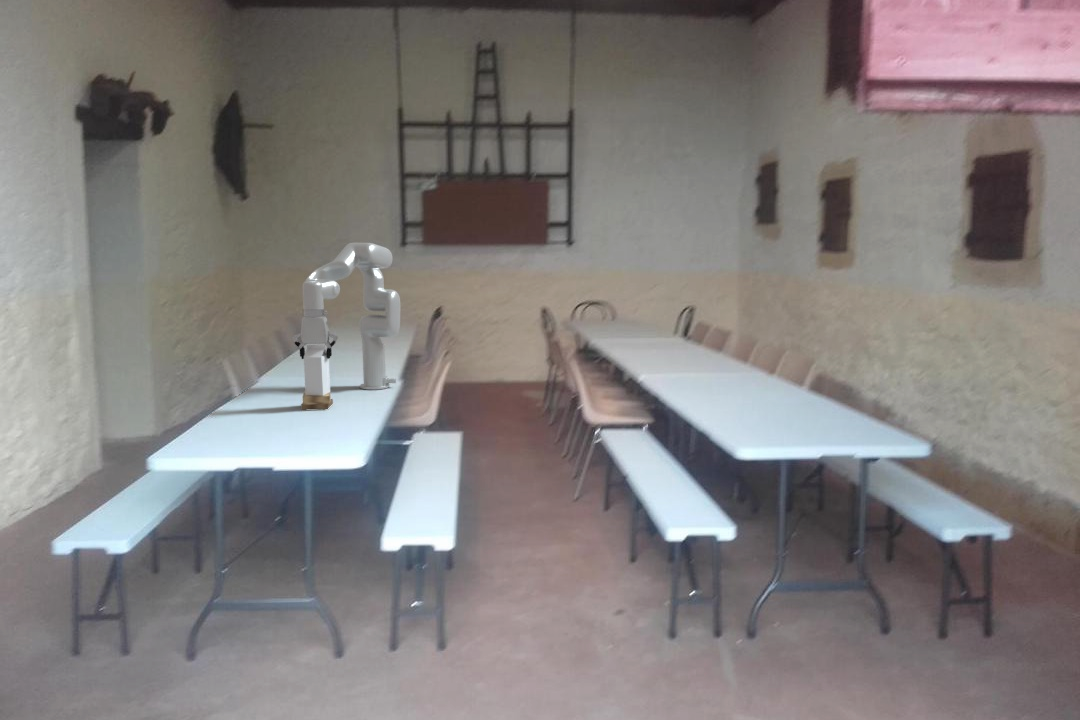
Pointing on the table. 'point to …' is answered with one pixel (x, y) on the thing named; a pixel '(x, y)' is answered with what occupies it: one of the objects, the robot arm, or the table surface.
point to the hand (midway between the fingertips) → (316, 358)
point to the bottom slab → (316, 406)
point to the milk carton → (316, 371)
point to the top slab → (316, 399)
